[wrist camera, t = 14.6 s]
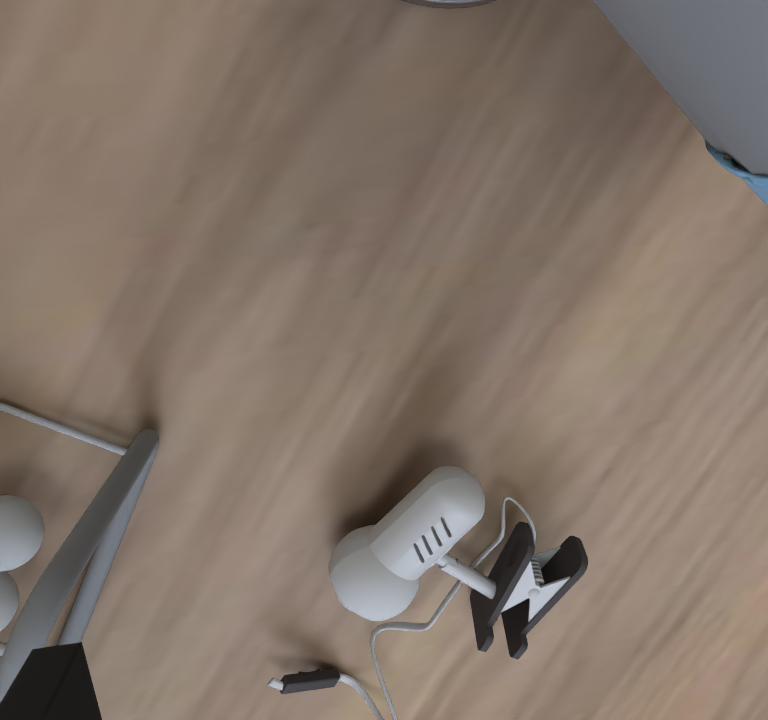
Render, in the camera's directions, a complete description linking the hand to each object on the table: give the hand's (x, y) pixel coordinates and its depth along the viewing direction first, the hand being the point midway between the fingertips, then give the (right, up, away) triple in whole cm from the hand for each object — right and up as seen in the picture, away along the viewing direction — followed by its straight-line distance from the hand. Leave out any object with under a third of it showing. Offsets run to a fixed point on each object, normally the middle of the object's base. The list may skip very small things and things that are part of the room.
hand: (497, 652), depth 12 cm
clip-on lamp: (0, -9, +32) cm, 34 cm away
